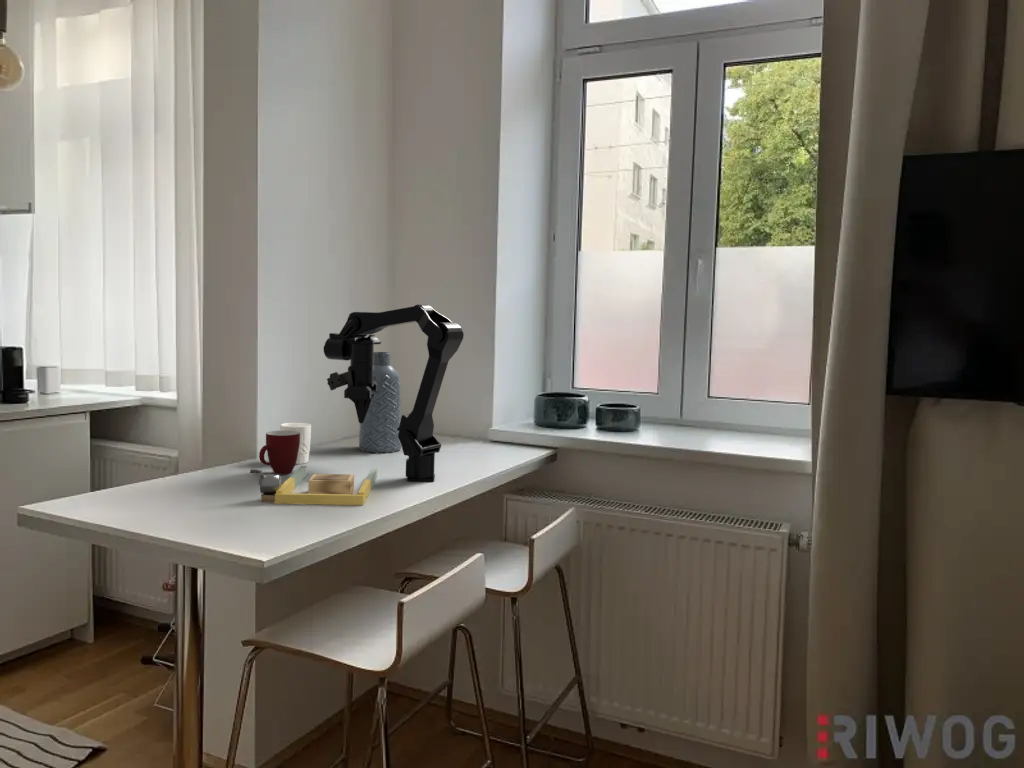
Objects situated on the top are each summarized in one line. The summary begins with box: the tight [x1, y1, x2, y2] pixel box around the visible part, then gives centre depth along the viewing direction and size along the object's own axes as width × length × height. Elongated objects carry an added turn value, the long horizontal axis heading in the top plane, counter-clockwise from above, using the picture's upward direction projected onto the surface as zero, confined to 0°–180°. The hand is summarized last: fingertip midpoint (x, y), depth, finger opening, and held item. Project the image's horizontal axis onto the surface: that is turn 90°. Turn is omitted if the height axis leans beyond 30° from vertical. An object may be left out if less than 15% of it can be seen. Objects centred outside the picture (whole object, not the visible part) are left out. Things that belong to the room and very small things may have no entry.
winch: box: [249, 468, 282, 503], centre depth 177 cm, size 6×4×7 cm, turn 93°
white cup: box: [279, 422, 312, 465], centre depth 218 cm, size 8×8×10 cm
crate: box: [307, 473, 355, 494], centre depth 184 cm, size 9×7×4 cm
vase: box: [358, 351, 402, 454], centre depth 239 cm, size 12×12×28 cm
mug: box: [258, 430, 300, 475], centre depth 203 cm, size 11×8×10 cm
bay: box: [274, 465, 378, 506], centre depth 189 cm, size 18×28×2 cm, turn 3°
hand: (361, 422), depth 211 cm, fingers closed
